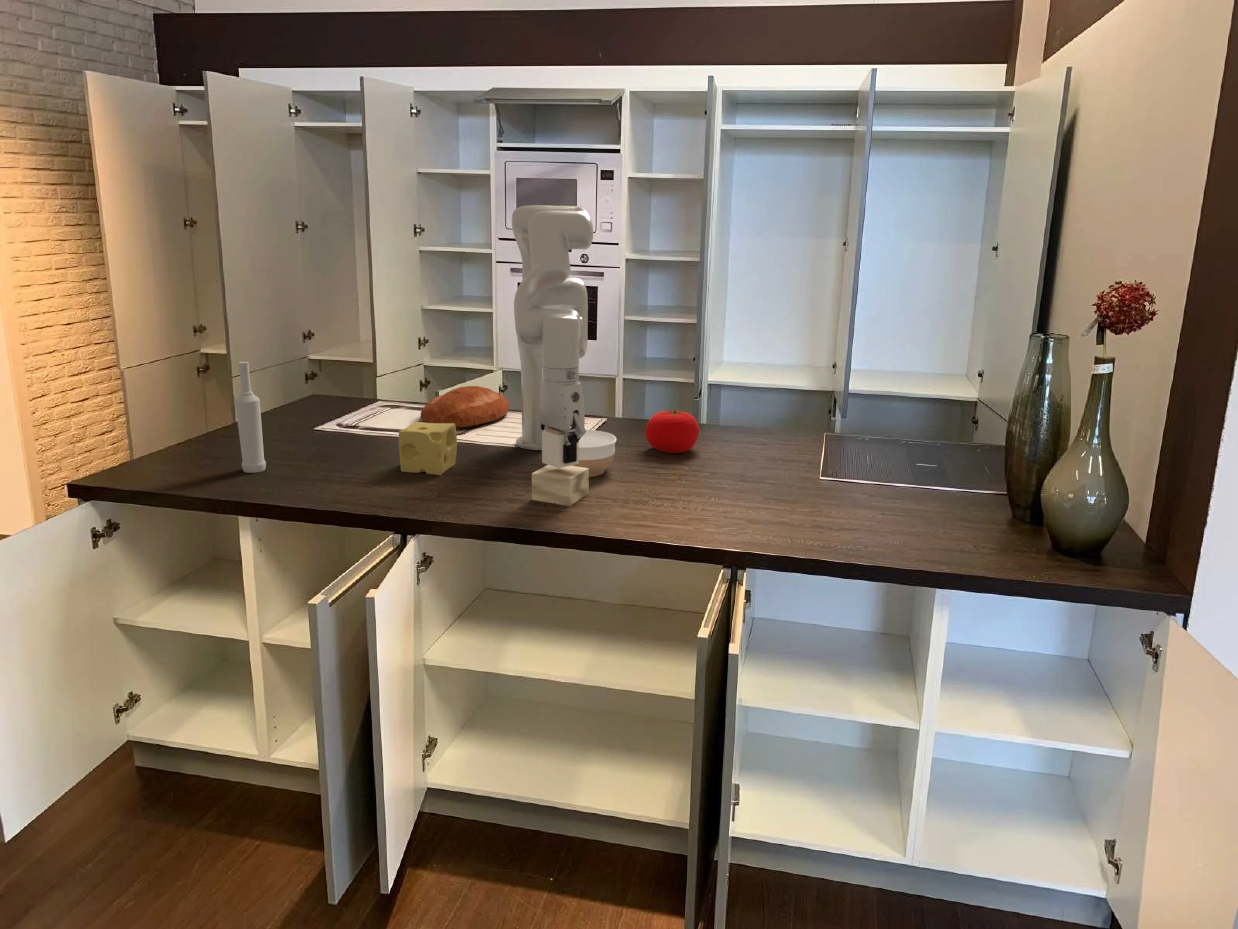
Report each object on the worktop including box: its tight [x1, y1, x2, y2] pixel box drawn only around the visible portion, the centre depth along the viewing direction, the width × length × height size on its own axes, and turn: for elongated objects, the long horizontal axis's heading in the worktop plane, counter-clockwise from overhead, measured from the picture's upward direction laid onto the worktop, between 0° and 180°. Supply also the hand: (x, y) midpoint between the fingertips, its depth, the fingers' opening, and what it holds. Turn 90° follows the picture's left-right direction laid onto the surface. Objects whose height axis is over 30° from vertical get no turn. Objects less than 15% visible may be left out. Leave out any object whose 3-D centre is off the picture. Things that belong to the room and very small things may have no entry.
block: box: [531, 464, 590, 507], centre depth 193 cm, size 9×9×6 cm
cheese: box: [398, 421, 458, 476], centre depth 211 cm, size 10×11×10 cm
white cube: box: [541, 427, 579, 468], centre depth 190 cm, size 6×6×8 cm
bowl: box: [571, 429, 617, 478], centre depth 211 cm, size 16×16×8 cm
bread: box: [420, 385, 510, 429], centre depth 258 cm, size 23×32×9 cm
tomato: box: [644, 409, 700, 454], centre depth 229 cm, size 14×13×10 cm
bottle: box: [234, 361, 267, 474], centre depth 204 cm, size 5×5×25 cm
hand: (560, 458), depth 191 cm, fingers closed on white cube, 5 cm apart
